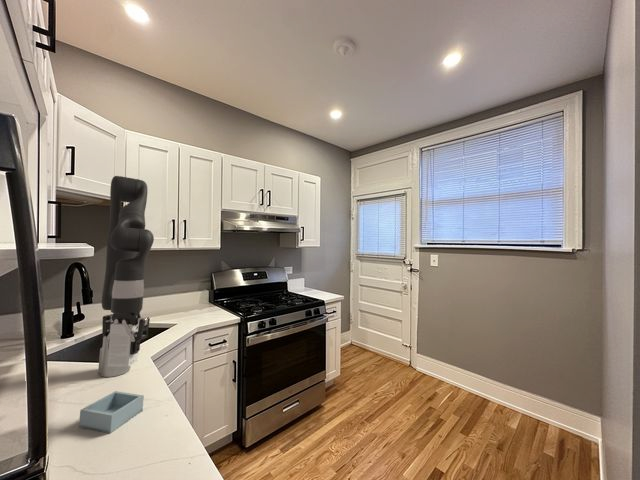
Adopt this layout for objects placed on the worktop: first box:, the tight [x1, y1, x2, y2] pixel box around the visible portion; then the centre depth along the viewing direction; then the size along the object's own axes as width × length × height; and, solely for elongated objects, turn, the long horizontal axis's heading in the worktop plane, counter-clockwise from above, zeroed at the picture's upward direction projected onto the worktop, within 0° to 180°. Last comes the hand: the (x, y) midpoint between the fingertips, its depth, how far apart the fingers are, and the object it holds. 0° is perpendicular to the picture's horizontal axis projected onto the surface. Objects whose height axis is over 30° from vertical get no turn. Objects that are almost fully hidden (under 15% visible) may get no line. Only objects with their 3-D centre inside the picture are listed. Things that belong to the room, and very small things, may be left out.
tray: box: [78, 390, 144, 434], centre depth 74 cm, size 10×10×4 cm
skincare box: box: [107, 323, 139, 367], centre depth 77 cm, size 6×4×12 cm
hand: (123, 352), depth 76 cm, fingers closed on skincare box, 6 cm apart
